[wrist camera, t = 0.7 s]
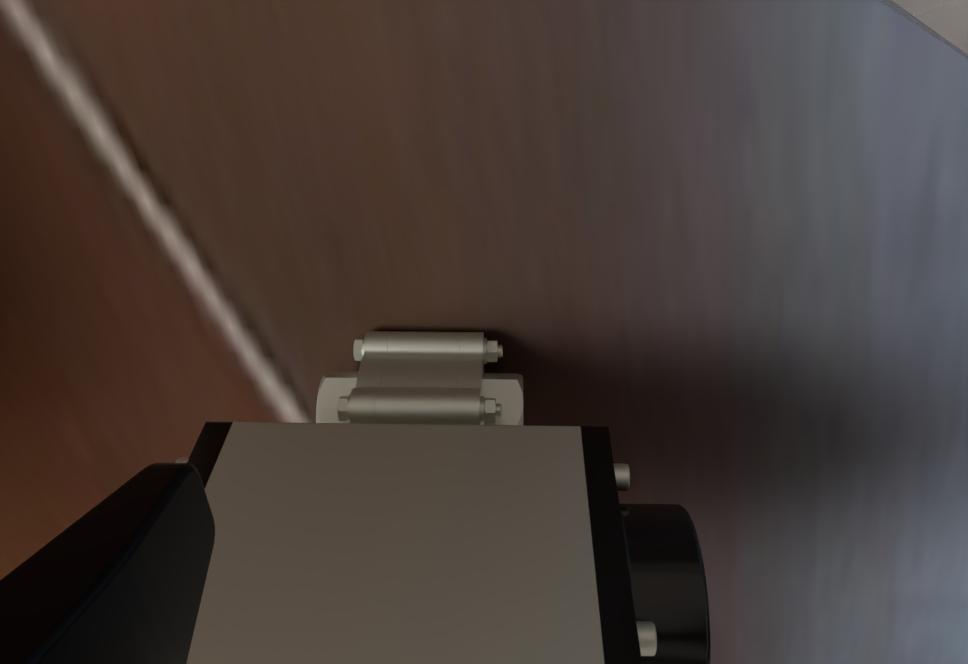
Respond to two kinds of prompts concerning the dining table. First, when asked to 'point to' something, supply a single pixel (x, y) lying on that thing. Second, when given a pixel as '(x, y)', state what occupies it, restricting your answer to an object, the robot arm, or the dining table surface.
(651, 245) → the dining table surface
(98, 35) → the dining table surface
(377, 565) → the pneumatic valve
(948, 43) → the plain white cube
